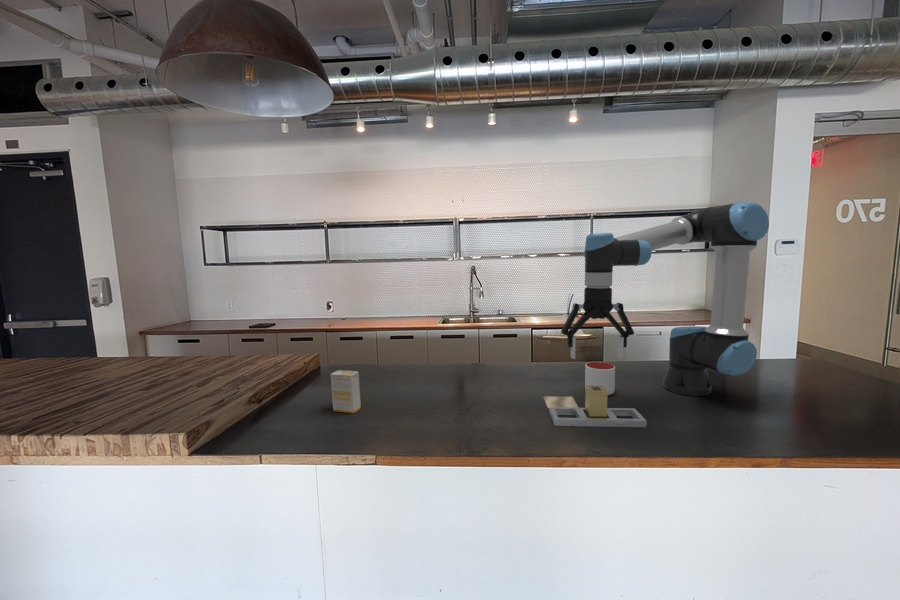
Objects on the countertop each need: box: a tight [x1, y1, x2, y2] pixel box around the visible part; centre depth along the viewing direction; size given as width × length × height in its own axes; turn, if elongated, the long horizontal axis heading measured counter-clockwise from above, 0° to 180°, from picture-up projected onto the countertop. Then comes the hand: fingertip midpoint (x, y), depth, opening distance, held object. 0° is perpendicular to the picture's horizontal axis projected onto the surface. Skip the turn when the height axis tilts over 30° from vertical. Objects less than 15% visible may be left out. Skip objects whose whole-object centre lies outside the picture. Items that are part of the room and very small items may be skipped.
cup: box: [584, 361, 616, 397], centre depth 138 cm, size 10×10×10 cm
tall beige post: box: [584, 386, 608, 418], centre depth 115 cm, size 5×5×10 cm
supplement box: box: [330, 369, 362, 414], centre depth 127 cm, size 8×5×13 cm, turn 71°
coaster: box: [542, 396, 580, 410], centre depth 129 cm, size 10×10×1 cm
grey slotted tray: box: [549, 407, 648, 428], centre depth 115 cm, size 26×9×2 cm, turn 85°
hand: (596, 358), depth 113 cm, fingers open, 13 cm apart
